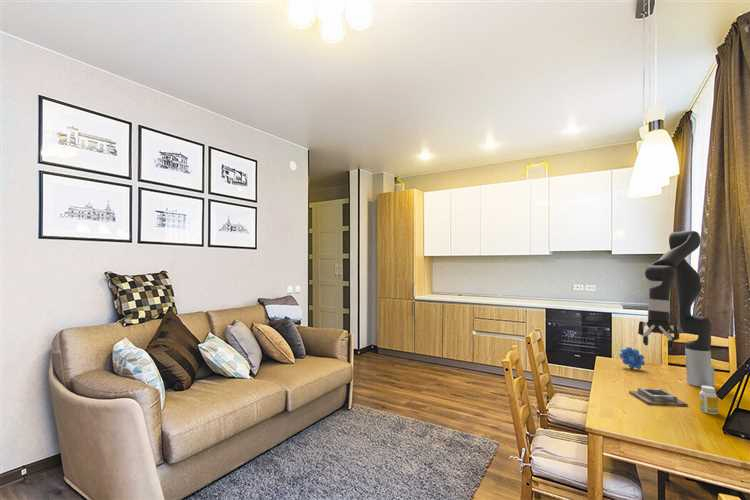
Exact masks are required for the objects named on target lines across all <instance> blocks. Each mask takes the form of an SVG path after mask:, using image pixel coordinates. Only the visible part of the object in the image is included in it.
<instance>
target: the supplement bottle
mask: <svg viewBox="0 0 750 500" xmlns="http://www.w3.org/2000/svg"><path fill="white" fill-rule="evenodd" d="M700 389H701V390H700V391H699V392H698V393H699V395H698V397H699V410H700V411H701V412H703V413H706V414H709V415H710V414H711V415H718V414H719V396H718V397H717V395H718V394H717V393H716V387H711V386H701V387H700ZM716 394H717V395H716Z"/></svg>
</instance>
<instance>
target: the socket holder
mask: <svg viewBox="0 0 750 500" xmlns="http://www.w3.org/2000/svg"><path fill="white" fill-rule="evenodd" d="M628 392H629V394H630V395H631V396H634V397H635V398H637V399H638V400H640V401H641V402H642V403H644V404H646V405H648V406H650V405H652V406H673V407H689V406H688V405H689V404H688V403H686V402H685V401H683V400H681V399H679V398H678V396H676V395H674V394H672V393H671V392H668V391H667V390H665V389H664V388H647V387H646V388H645V387H637V390H628Z"/></svg>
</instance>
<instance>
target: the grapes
mask: <svg viewBox="0 0 750 500" xmlns="http://www.w3.org/2000/svg"><path fill="white" fill-rule="evenodd" d="M620 352H621V353H619V358H621V359H622V363H623V365H627V366H628V367H629V368H630V369H632V370H634V369H635V368H636V369H637V370H641V369H642V366H645V365H646V362H645V361H644V360H645V355H643V354H641V353H640V351H639V350H638V349H637V348H632V347H630V346H627V347H626V348H621V349H620Z"/></svg>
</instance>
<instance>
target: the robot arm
mask: <svg viewBox="0 0 750 500" xmlns="http://www.w3.org/2000/svg"><path fill="white" fill-rule="evenodd" d="M701 240H702V239H701V236H700V234H699V233H698V232H697V231H695V230H685V231H674V232H671V233H670V234H669V236H668V244H669V249H670V250H667V251H666V252H665V253H663V254H662V256H661V257H660V258H659V259H657V260H656V261H654V262H653V263H651V264H649V265H648V266H647V267H646V269H645V272H644V275H645V278H646V279H647V280H648V281H650V282H661V284H660V285H655V286H650V288H649V296H648V298H649V300H648V305H647V310H648V311H647V322H646V321H639V323H638V330H637V333H638V335H641V336H642V343H643V344H644V346H649V336H650V334H652V333H654V334H662V335H664V336H665V337H666V338H667V339H668V341H667V349H668V350H672V349H674V344H675V341H678V340H680V330H681V332H682V333H683V334H688V335H695V336H697V339H695V340H687V341H686V342H685V343H684V347H685V349H684V351H685V367H686V368H685V369H686V371H685V372H686V383H687V384H688V385H690V386H694V387H700V388H701V386H711V387H714V388H716V385H715V384H716V381H715V367H714V366H712V352H711V346H712V322H711V320H710V319H709V318H708V317H706V316H701V315H692V311H691V310H692V306H693V303H694V302H695V300H696V299H697V298H698V296H699V295H700V293H701V291H702V284H701V283H702V282H701V277H700V275H699V273H698V272H697V271H696V270H695V269H694V268H693V266H691V264H690V263H689V262H688V261H687V260H686V258H687V257H688V256H689V255H691V254H692V253H693V252H694V251H696V250H698V248H699V247H700V245H701ZM674 280H675V286H676V291H677V300H678V314H679V315H678V318H679V319H678V321H679V325H671V324H670V319H671V318H670V317H671V316H670V314H671V313H670V312H671V308H670V307H671V306H670V292H671V288H672V285H673V282H674ZM646 326H647V328H648V329H647V330H646V331H645V330H644V329H645V327H646ZM670 329H671V330H672V331H673V335H672V334H671V332H670V331H669V330H670ZM644 331H645V332H644Z"/></svg>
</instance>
